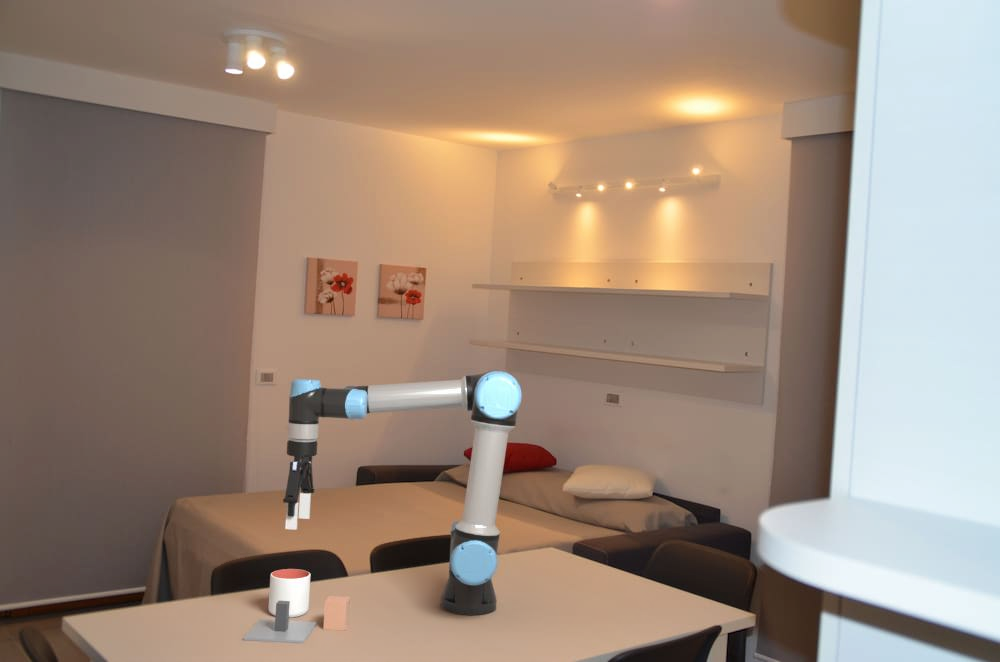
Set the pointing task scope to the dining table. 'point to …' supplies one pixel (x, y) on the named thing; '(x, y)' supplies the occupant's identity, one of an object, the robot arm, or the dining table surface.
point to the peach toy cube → (336, 613)
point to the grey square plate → (281, 627)
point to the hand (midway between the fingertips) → (297, 523)
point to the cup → (290, 590)
